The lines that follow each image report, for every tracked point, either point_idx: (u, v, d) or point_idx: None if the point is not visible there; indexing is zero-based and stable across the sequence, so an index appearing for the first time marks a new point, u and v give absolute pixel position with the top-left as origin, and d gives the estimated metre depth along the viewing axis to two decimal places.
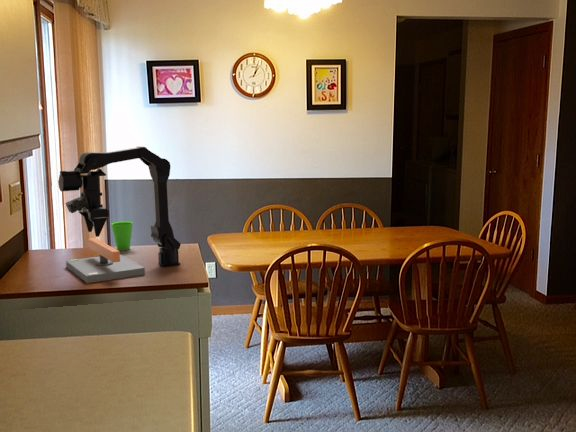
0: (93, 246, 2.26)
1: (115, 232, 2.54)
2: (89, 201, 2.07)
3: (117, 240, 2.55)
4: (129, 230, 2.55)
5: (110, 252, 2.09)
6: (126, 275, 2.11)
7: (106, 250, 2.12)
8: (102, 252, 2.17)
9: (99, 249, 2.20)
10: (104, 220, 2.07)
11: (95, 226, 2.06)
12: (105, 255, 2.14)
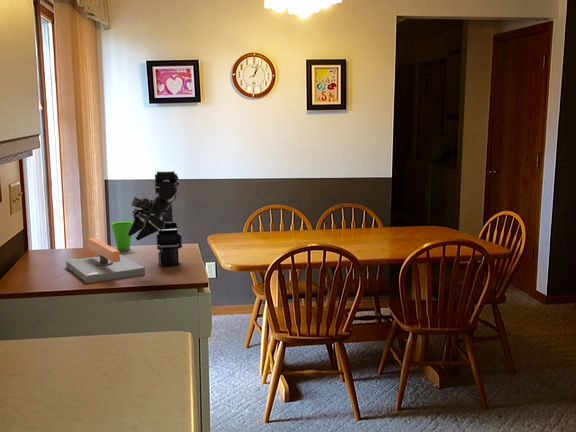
0: (93, 246, 2.26)
1: (115, 232, 2.54)
2: (154, 209, 2.14)
3: (117, 240, 2.55)
4: (129, 230, 2.55)
5: (110, 252, 2.09)
6: (126, 275, 2.11)
7: (106, 250, 2.12)
8: (102, 252, 2.17)
9: (99, 249, 2.20)
10: (153, 231, 2.11)
11: (143, 230, 2.10)
12: (105, 255, 2.14)
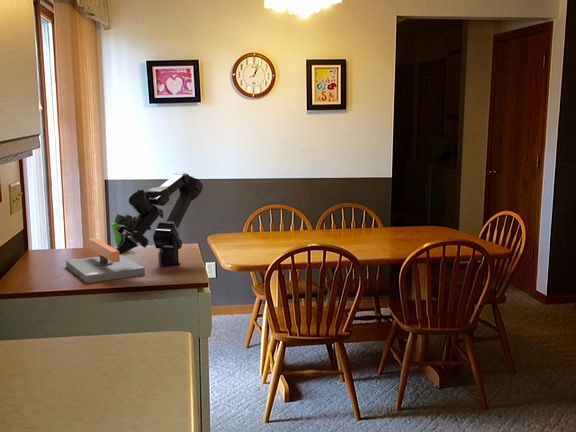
0: (93, 246, 2.26)
1: (115, 232, 2.54)
2: (137, 226, 2.12)
3: (117, 240, 2.55)
4: None
5: (110, 252, 2.09)
6: (126, 275, 2.11)
7: (106, 250, 2.12)
8: (102, 252, 2.17)
9: (99, 249, 2.20)
10: (132, 246, 2.12)
11: (122, 245, 2.11)
12: (105, 255, 2.14)
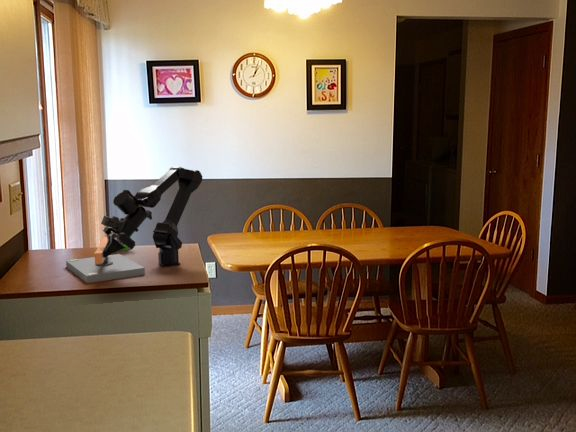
0: None
1: None
2: (124, 228, 2.09)
3: None
4: None
5: (95, 253, 2.07)
6: (126, 275, 2.11)
7: None
8: None
9: None
10: (120, 248, 2.10)
11: (109, 247, 2.08)
12: None
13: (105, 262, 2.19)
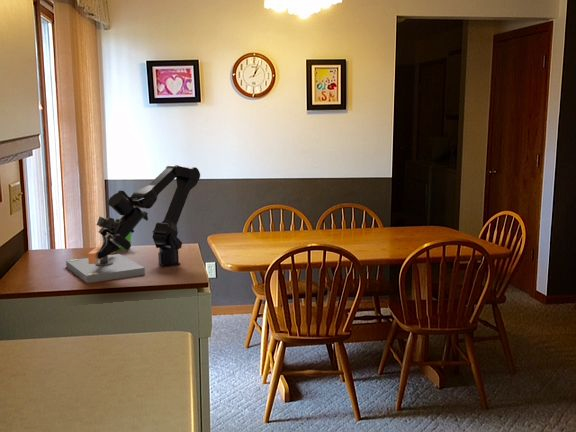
0: None
1: None
2: (119, 229, 2.09)
3: None
4: None
5: None
6: (126, 275, 2.11)
7: None
8: None
9: None
10: (115, 249, 2.09)
11: (105, 248, 2.08)
12: None
13: (104, 262, 2.19)
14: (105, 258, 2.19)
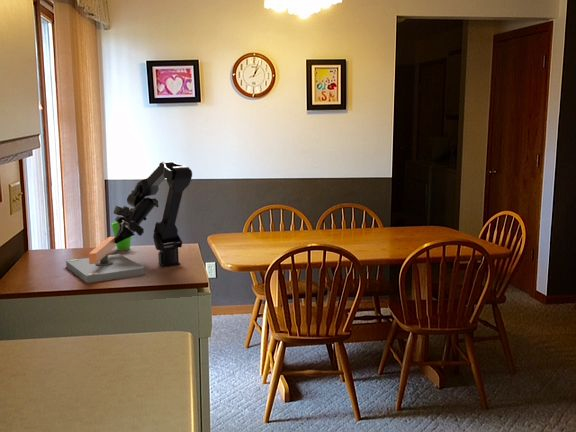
0: None
1: (115, 232, 2.54)
2: (134, 216, 2.34)
3: None
4: None
5: None
6: (126, 275, 2.11)
7: None
8: None
9: None
10: (130, 235, 2.34)
11: (120, 234, 2.33)
12: None
13: (105, 262, 2.19)
14: (105, 258, 2.19)
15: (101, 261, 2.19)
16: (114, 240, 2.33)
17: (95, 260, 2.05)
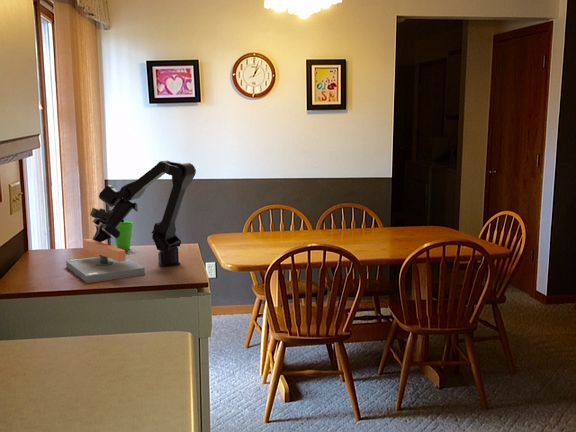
0: (90, 246, 2.25)
1: None
2: (111, 219, 2.29)
3: (117, 240, 2.55)
4: (129, 230, 2.55)
5: (115, 251, 2.09)
6: (126, 275, 2.11)
7: (109, 250, 2.13)
8: (103, 252, 2.17)
9: (98, 249, 2.20)
10: (107, 237, 2.30)
11: (97, 236, 2.29)
12: (108, 255, 2.14)
13: (107, 262, 2.20)
14: (107, 258, 2.20)
15: (103, 261, 2.19)
16: None
17: (124, 257, 2.09)
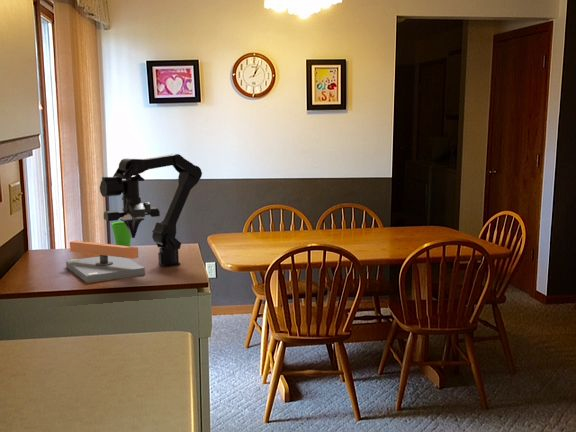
0: (83, 248, 2.22)
1: (115, 232, 2.54)
2: None
3: (117, 240, 2.55)
4: None
5: (128, 249, 2.13)
6: (126, 275, 2.11)
7: (118, 248, 2.15)
8: (107, 252, 2.17)
9: (98, 249, 2.19)
10: None
11: None
12: (114, 254, 2.16)
13: (107, 261, 2.21)
14: (107, 257, 2.21)
15: (105, 261, 2.19)
16: None
17: (137, 254, 2.14)
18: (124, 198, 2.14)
